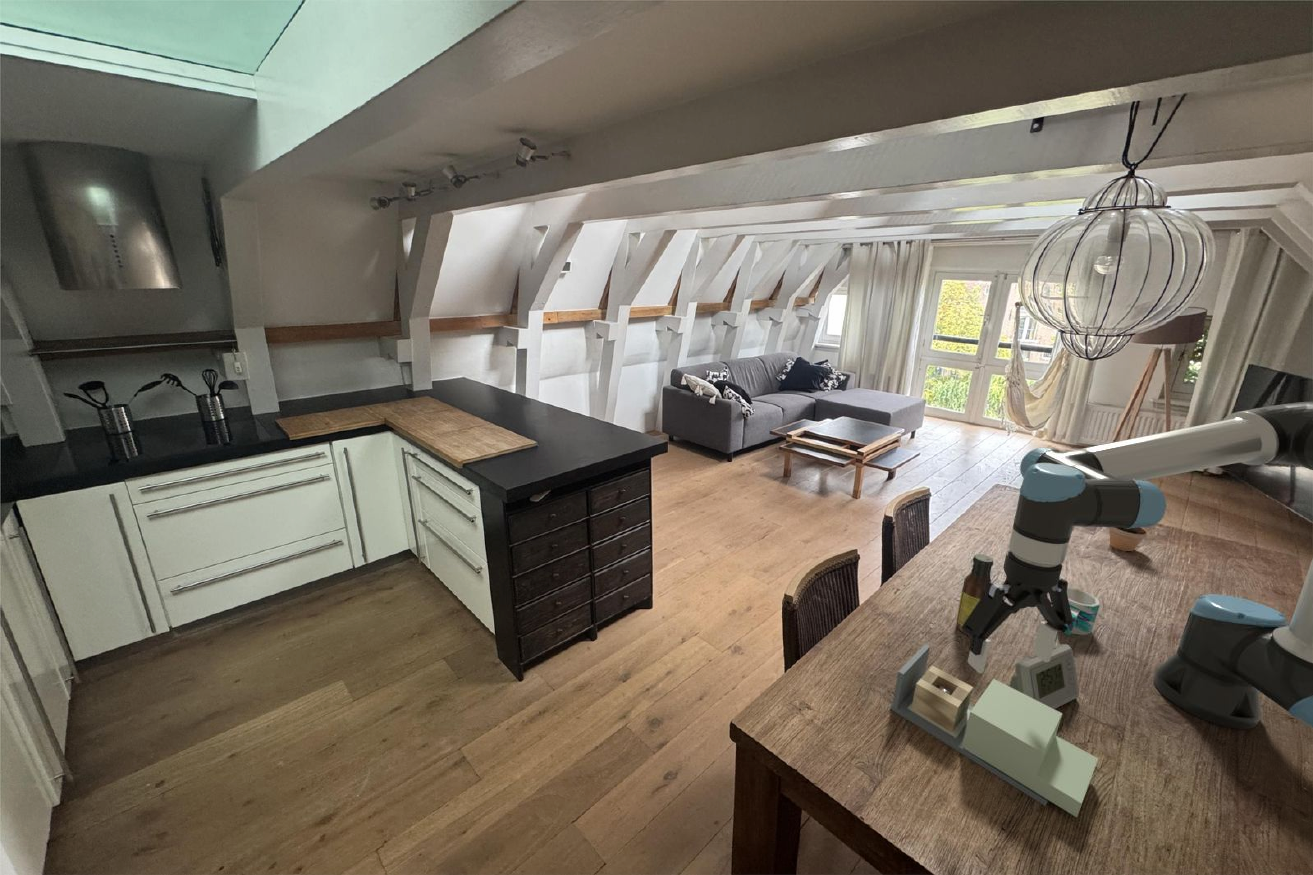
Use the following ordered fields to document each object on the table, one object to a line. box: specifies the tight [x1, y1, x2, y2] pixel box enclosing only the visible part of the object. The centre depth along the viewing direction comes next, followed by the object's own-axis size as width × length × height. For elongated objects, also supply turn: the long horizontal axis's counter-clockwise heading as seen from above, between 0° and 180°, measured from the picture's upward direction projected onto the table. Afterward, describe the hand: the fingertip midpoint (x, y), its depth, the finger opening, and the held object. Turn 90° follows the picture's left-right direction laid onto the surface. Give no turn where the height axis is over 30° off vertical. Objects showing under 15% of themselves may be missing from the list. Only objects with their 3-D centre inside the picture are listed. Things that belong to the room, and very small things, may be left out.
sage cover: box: [962, 678, 1099, 818], centre depth 89 cm, size 17×12×8 cm
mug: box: [1059, 586, 1101, 636], centre depth 126 cm, size 8×12×8 cm
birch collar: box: [912, 665, 974, 732], centre depth 100 cm, size 8×8×6 cm
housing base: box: [890, 643, 1049, 807], centre depth 95 cm, size 26×12×9 cm, turn 41°
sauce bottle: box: [956, 553, 994, 635], centre depth 123 cm, size 7×6×20 cm
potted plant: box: [1107, 480, 1160, 552], centre depth 164 cm, size 10×10×25 cm
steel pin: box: [939, 686, 951, 695], centre depth 100 cm, size 2×2×6 cm
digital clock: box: [1009, 643, 1080, 710], centre depth 104 cm, size 16×9×11 cm, turn 101°
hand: (1008, 662), depth 90 cm, fingers open, 13 cm apart
